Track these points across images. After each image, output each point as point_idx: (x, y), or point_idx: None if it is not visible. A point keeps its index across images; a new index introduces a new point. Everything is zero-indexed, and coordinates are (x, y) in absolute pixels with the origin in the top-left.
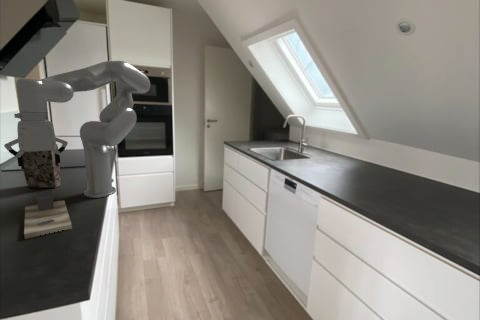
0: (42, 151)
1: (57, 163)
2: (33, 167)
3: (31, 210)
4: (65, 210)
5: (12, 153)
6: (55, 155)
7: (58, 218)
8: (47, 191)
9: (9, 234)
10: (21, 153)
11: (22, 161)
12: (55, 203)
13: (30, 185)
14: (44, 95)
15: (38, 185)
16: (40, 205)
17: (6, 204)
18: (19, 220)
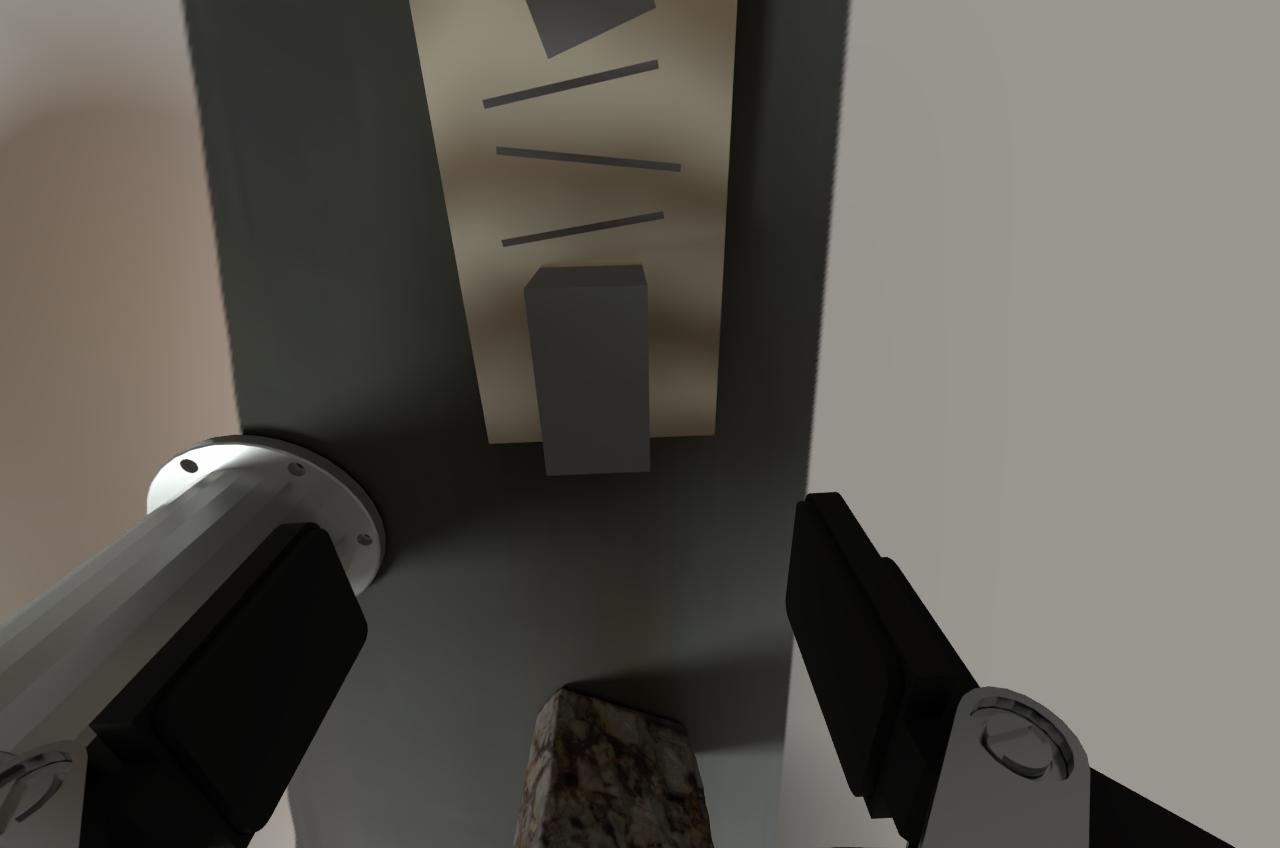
0: None
1: (271, 550)
2: None
3: (683, 340)
4: (461, 215)
5: (1197, 845)
6: (163, 727)
7: (499, 41)
8: (572, 462)
9: (821, 14)
10: (982, 819)
11: (865, 596)
12: None
13: (679, 738)
14: None
15: (642, 727)
16: (624, 274)
17: None
18: (749, 266)
